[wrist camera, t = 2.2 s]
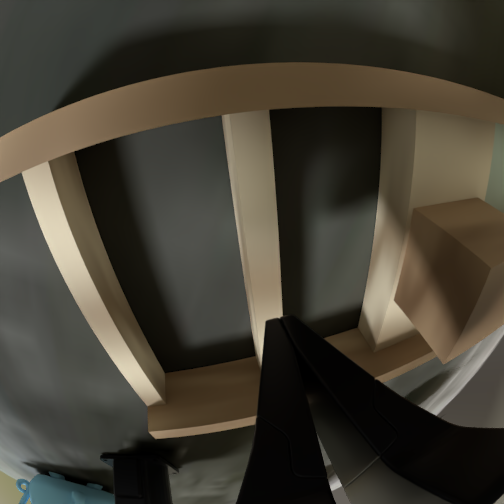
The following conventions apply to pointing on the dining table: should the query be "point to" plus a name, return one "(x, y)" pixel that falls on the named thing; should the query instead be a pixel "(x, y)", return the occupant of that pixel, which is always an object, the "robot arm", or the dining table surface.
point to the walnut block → (454, 274)
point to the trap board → (259, 209)
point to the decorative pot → (62, 491)
